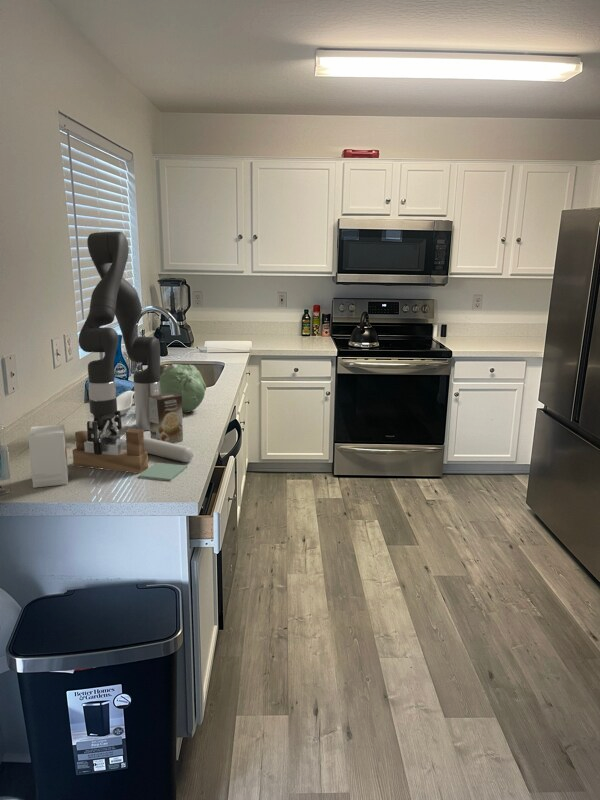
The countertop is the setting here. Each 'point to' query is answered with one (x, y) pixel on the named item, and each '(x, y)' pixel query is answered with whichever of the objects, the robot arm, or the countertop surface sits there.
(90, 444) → the lever cap
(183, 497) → the countertop surface
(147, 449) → the tube
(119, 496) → the countertop surface
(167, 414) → the coffee box
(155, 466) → the mat
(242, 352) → the countertop surface
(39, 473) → the supplement box
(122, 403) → the spoon rest
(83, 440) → the body
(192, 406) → the cabbage
